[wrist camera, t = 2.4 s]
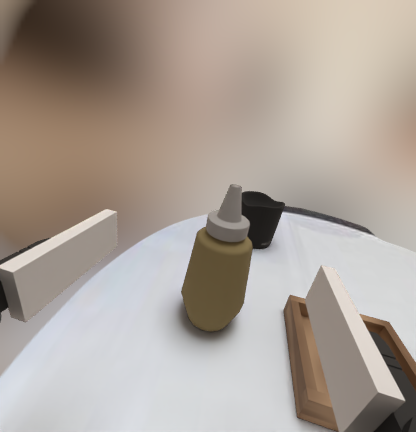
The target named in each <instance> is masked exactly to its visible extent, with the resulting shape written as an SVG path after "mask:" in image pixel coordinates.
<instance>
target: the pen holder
mask: <svg viewBox="0 0 416 432" xmlns="http://www.w3.org/2000/svg"><path fill="white" fill-rule="evenodd" d="M284 206H285V203H283V202H277V201H274V200H273V199H271V198H270V197H269V196H267V195H266V194H264V193H260V192H254V191H247V192H243V193H242V201H241V215H242V216H244V217H246V218H247V219H248V220H249V223H250V227H249V230H248V234H247V237H248V238H249V239H250V240H251V241H252V246H253V248H259V249H260V248H265V247H267V246H269V245H270V243H271V241H272V238H273V236H274V233H275V231H276V228H277V225H278V222H279V220H280V217H281V214H282V212H283V209H284Z"/></svg>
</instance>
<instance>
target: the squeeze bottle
mask: <svg viewBox="0 0 416 432" xmlns="http://www.w3.org/2000/svg"><path fill="white" fill-rule="evenodd" d="M241 191H242V187H241V186H238V185H233V184H232V185H230V187H229V189H228V192H227V194H226V196H225V198H224V201H223V203H222V205H221V207H220V210H216V211H212V212H211V213H209V214H208V218H207V224H206V227H204V228H202V229H201V230H199V231H198V232H197V235H196V239H195V243H194V246H193V250H192V254H191V258H190V261H189V265H188V269H187V272H186V276H185V280H184V284H183V287H182V291H181V293H182V296H183V300H184V304H185V307H186V311H187V314H188V318H189V320H190V321H191V322H192V323H193V325H194V326H196V327H198V328H199V329H201V330H204V331H210V332H213V331H218V330H221V329H222V328H224V327H225V326H227V325H228V323H229V322H230V321H231V320H232V319H233V318H234V317H235V316H236V315H237V314H238V313H239V312H240V310H241V308H242V306H243V303H244V298H245V292H246V286H247V280H248V273H249V267H250V261H251V255H252V249H253V246H252V241H251V240H250V239H249V238H248V237H247V234H248V230H249V227H250V223H249V220H248V219H247V218H246V217H244V216H242V215H241V201H242V192H241Z"/></svg>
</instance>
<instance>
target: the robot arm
mask: <svg viewBox="0 0 416 432" xmlns="http://www.w3.org/2000/svg"><path fill="white" fill-rule="evenodd" d="M116 247H117V212H116V211H112V210H109V209H106V210H104V211H102V212H100V213H98V214H96V215H94V216H92V217H90V218H88V219H87V220H85V221H83V222H81V223H79V224H77V225H75V226H73V227H71V228H69V229H68V230H66V231H64V232H62V233H60V234H58V235H56V236H54V237H52V238H48V239H44V240H41V241H37V242H35V243H34V244H31V245H30V246H28V247H27V248H24V249H22V250H20V251H19V252H16V253H14V254H12V255H10V256H8V257H6V258H4V259H2V260H0V321H1V312H2V311H4V310H5V309H6V308H9V311H10V315H11V317H12V318H15V319H18V320H20V321H23V322H27V321H28V320H29V319H31V318H32V317H33V316H34V315H35V314H36V313H38V312H39V311H40V310H41V309H43V308H44V307H45V306H46V305H47V304H49V303H50V302H51V301H52V300H53V299H54V298H56V297H57V296H58V295H59V294H61V293H62V292H63V291H64V290H65V289H67V288H68V287H69V286H70V285H71V284H73V283H74V282H75V281H76V280H77V279H79V278H80V277H81V276H82V275H84V274H85V273H86V272H87V271H88V270H89V269H91V268H92V267H93V266H94V265H96V263H98V262H99V261H100V260H102V259H103V258H104V257H105V256H106V255H108V254H109V253H110V252H111V251H112V250H114V249H115V248H116ZM305 303H306V307H307V311H308V315H309V319H310V323H311V326H312V330H313V334H314V338H315V342H316V346H317V349H318V353H319V357H320V361H321V365H322V369H323V373H324V376H325V380H326V384H327V388H328V392H329V396H330V399H331V403H332V407H333V411H334V415H335V419H336V423H337V426H338V430H339V432H416V391H415V389H414V388H413V386H412V384H411V383H410V381H409V379H408V377H407V376H406V374H405V372H404V371H402V367H401V366H400V364H399V362H398V361H397V360H396V357H395V355H394V354H393V352H392V350H391V349H390V347H389V345H388V344H387V343H386V342H385V341H384V340H383V339H382V338H381V337H380V336H379V335H378V334H377V333H375V332H371V331H368V330H367V328H366V326H365V324H364V322H363V320H362V318H361V316H360V315H359V313H358V311H357V309H356V307H355V305H354V303H353V301H352V300H351V298H350V296H349V294H348V292H347V290H346V288H345V286H344V285H343V283H342V281H341V279H340V277H339V275H338V273H337V272H336V270H335V269H334V268H330V267H326V266H322V265H321V267H320V269H319V271H318V273H317V275H316V278H315V280H314V282H313V284H312V286H311V288H310V290H309V292H308V294H307V296H306V299H305Z"/></svg>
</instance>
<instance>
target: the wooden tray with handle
mask: <svg viewBox="0 0 416 432" xmlns="http://www.w3.org/2000/svg"><path fill="white" fill-rule="evenodd" d="M359 315H360V316H361V318H362V320H363V322H364V324H365V326H366V328H367V330H368V331H371V332H375V333H377V334H378V335H379V336H380V337H381V338H382V339H383V340H384V341H385V342H386V343H387V344H388V345H389V347H390V349H391V350H392V352H393V354H394V355H395V357H396V360H397V361H398V362H399V364H400V366H401V367H402V371H404V372H405V374H406V376H407V377H408V379H409V381H410V383H411V384H412V386H413V388H414V389H415V391H416V362H415V361H414V359H413V358H412V356H411V355H410V353H409V352H408V350H407V349H406V347H405V346H404V344H403V343H402V341H401V340H400V338H399V337H398V335H397V333H396V332H395V330H394V329H393V327H392V326H391V324H390V323H389V322H387V321H383V320H380V319H376V318H373V317H369V316H365V315H362V314H359ZM284 317H285V325H286V333H287V341H288V349H289V356H290V364H291V372H292V380H293V388H294V396H295V404H296V412H297V417H298V418H301V419H303V420H306V421H309V422H312V423H315V424H318V425H320V426H323V427H326V428H329V429H332V430H335V431H337V432H339V430H338V426H337V423H336V419H335V415H334V411H333V407H332V403H331V399H330V396H329V392H328V388H327V384H326V380H325V376H324V373H323V369H322V365H321V361H320V357H319V353H318V349H317V346H316V342H315V338H314V334H313V330H312V326H311V323H310V319H309V315H308V311H307V307H306V303H305V299H304V298H300V297H296V296H293V295H290V296H289V298H288V301H287V303H286V305H285V308H284Z"/></svg>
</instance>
